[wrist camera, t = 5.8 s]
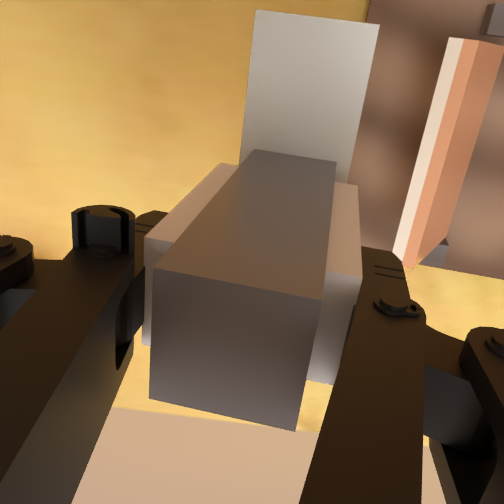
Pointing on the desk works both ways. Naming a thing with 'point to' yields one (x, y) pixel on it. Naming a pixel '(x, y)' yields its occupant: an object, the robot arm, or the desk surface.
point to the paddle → (264, 230)
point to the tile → (446, 146)
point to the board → (413, 125)
